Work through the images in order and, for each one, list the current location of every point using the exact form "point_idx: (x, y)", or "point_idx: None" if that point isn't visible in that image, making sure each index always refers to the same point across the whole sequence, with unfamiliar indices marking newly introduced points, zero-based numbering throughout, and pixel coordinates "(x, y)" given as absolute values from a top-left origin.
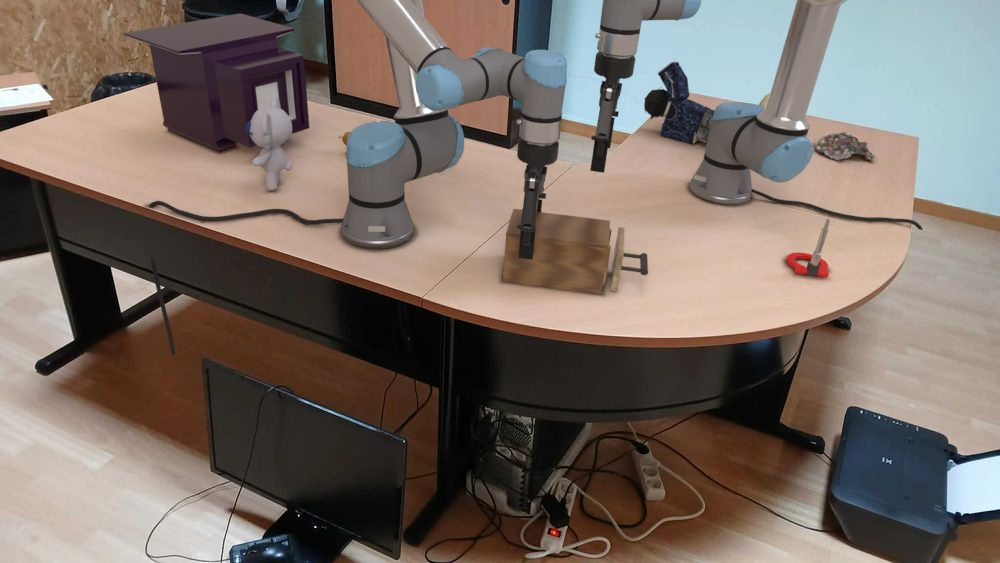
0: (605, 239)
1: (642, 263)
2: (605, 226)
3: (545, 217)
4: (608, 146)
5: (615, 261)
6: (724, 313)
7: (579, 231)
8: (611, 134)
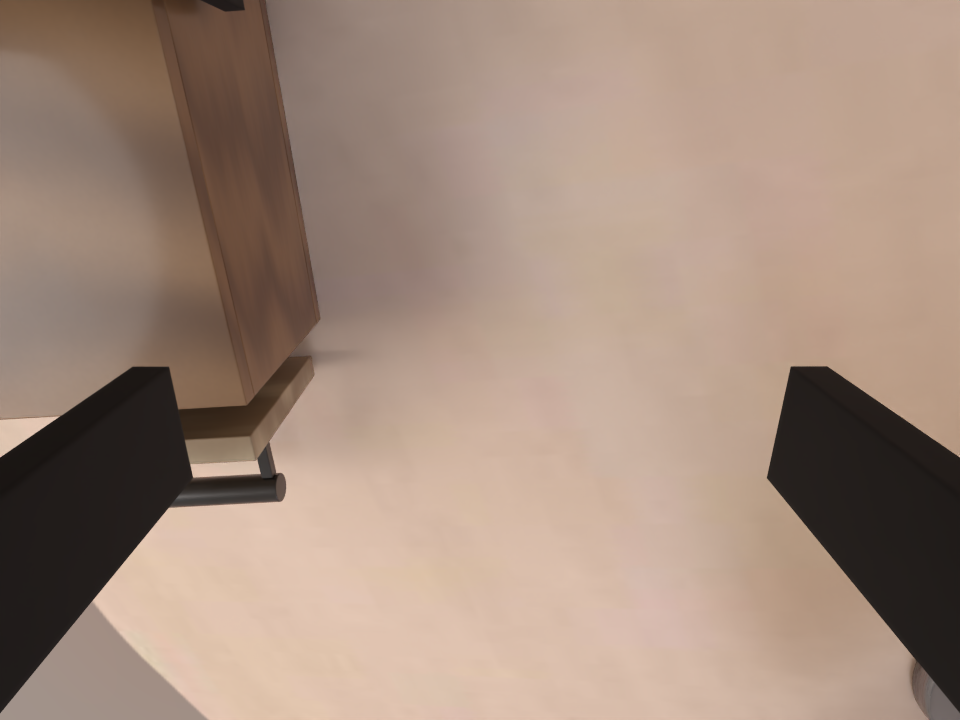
0: (31, 401)
1: (196, 491)
2: None
3: (88, 34)
4: (776, 473)
5: None
6: (218, 643)
7: (34, 268)
8: (850, 570)
